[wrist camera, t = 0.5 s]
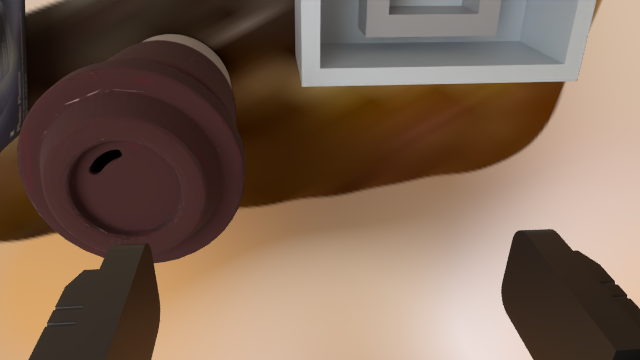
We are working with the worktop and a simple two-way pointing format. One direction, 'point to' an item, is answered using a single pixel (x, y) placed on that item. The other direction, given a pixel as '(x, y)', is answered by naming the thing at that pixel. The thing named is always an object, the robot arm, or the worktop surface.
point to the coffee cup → (137, 150)
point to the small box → (12, 70)
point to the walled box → (439, 41)
